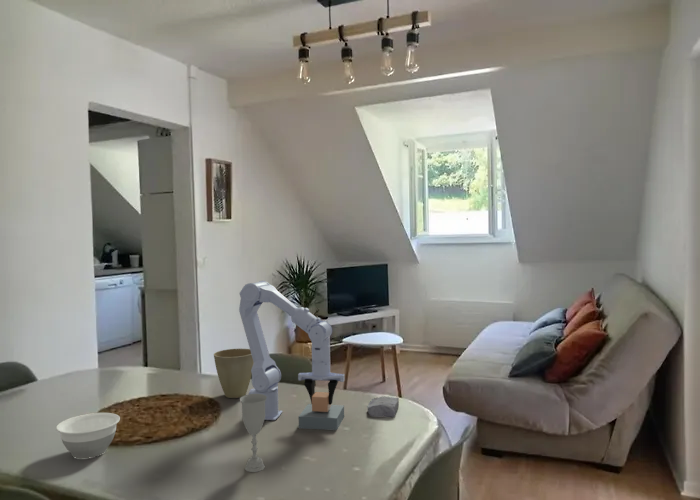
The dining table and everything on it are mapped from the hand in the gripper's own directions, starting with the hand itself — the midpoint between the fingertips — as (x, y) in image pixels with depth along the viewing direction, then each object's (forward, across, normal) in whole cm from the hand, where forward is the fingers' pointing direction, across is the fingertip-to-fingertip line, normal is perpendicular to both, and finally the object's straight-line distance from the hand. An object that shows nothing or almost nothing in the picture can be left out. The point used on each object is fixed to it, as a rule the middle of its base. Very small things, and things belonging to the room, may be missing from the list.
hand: (321, 403), depth 169 cm
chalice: (+6, -10, -34) cm, 36 cm away
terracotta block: (+2, 0, 0) cm, 2 cm away
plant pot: (+6, -38, +23) cm, 45 cm away
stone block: (+6, +18, +13) cm, 23 cm away
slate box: (+6, 0, 0) cm, 6 cm away
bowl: (+6, -59, -31) cm, 67 cm away
